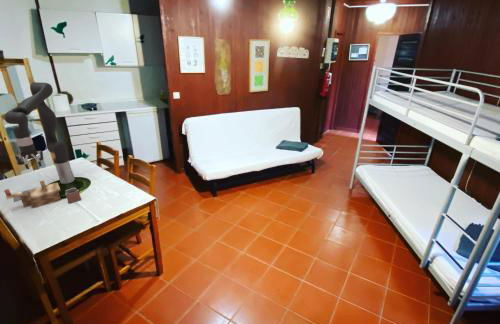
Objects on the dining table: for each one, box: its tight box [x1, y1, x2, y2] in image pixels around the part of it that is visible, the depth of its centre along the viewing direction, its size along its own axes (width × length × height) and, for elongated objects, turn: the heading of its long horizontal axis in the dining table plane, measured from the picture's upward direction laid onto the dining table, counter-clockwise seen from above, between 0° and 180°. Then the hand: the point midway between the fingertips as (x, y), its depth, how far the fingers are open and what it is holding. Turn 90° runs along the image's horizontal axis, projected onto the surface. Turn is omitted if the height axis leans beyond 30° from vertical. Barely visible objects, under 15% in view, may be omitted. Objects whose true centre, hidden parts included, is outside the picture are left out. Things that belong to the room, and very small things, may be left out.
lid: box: [28, 180, 61, 199], centre depth 177 cm, size 16×12×6 cm
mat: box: [12, 189, 30, 202], centre depth 187 cm, size 18×12×1 cm, turn 131°
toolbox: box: [20, 191, 62, 209], centre depth 177 cm, size 20×12×8 cm, turn 131°
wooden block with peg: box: [3, 188, 23, 200], centre depth 167 cm, size 8×2×6 cm, turn 131°
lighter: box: [64, 187, 82, 204], centre depth 179 cm, size 8×3×10 cm, turn 134°
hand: (34, 167), depth 170 cm, fingers open, 5 cm apart
